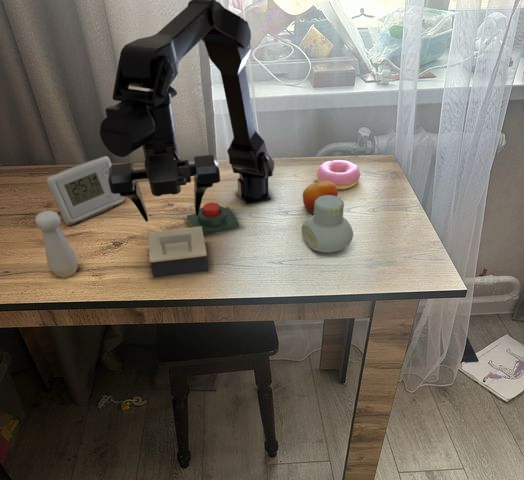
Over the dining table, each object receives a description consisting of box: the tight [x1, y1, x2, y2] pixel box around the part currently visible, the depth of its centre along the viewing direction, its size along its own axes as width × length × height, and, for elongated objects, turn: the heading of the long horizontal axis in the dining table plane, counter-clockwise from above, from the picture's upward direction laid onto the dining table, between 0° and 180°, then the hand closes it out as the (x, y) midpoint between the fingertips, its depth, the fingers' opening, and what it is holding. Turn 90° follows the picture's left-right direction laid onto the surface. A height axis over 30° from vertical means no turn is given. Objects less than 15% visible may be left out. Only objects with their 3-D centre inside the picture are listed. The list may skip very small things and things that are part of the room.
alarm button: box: [202, 202, 220, 217], centre depth 112 cm, size 4×4×2 cm
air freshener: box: [301, 195, 354, 253], centre depth 104 cm, size 11×8×10 cm
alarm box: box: [186, 205, 240, 236], centre depth 114 cm, size 10×8×3 cm
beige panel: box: [148, 226, 208, 264], centre depth 100 cm, size 10×11×4 cm
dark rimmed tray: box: [150, 255, 210, 279], centre depth 103 cm, size 10×11×4 cm
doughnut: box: [315, 159, 362, 190], centre depth 126 cm, size 11×11×4 cm
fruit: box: [302, 181, 339, 214], centre depth 116 cm, size 8×8×8 cm
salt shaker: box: [34, 210, 79, 279], centre depth 98 cm, size 6×6×13 cm
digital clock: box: [45, 155, 125, 226], centre depth 117 cm, size 16×9×11 cm, turn 124°
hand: (172, 217), depth 94 cm, fingers open, 9 cm apart
